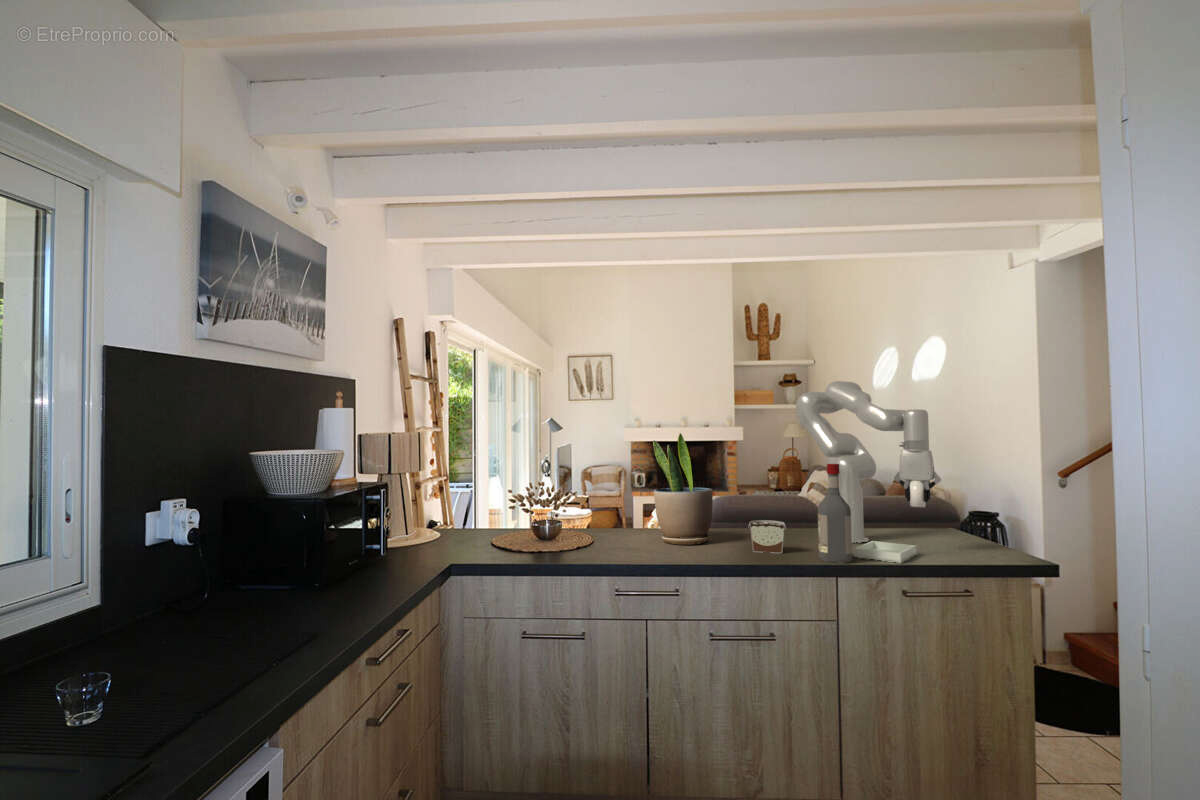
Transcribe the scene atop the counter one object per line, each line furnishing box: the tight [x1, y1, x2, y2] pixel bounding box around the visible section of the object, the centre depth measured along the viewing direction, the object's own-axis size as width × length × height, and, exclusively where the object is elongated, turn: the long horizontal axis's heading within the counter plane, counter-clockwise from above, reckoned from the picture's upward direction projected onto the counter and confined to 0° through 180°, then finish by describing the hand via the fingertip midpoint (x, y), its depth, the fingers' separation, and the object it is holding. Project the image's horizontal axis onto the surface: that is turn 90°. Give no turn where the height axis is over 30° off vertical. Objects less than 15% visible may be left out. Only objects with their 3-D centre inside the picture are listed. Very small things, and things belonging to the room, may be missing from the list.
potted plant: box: [652, 432, 714, 546], centre depth 231 cm, size 21×22×40 cm
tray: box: [853, 540, 918, 564], centre depth 202 cm, size 14×18×3 cm
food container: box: [748, 519, 787, 554], centre depth 212 cm, size 12×6×10 cm, turn 71°
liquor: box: [817, 463, 853, 564], centre depth 196 cm, size 9×9×30 cm
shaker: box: [909, 480, 927, 508], centre depth 209 cm, size 5×5×11 cm
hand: (917, 500), depth 208 cm, fingers closed on shaker, 4 cm apart
